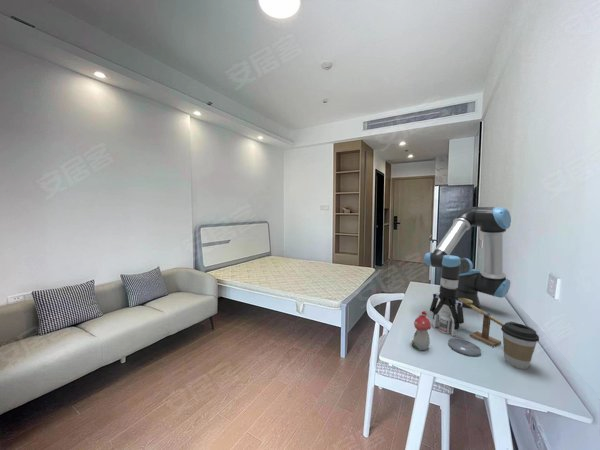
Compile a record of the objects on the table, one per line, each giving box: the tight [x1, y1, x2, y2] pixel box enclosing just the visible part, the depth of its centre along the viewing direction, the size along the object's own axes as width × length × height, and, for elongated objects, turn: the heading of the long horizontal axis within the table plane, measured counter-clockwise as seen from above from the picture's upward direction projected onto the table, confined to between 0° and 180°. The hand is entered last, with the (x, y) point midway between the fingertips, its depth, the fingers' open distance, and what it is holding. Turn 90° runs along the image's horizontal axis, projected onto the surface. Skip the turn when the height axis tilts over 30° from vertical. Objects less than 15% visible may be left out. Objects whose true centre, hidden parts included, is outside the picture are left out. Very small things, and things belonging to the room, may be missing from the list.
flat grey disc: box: [447, 337, 482, 358], centre depth 107 cm, size 12×12×1 cm
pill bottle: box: [438, 311, 453, 334], centre depth 121 cm, size 5×5×10 cm
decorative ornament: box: [411, 310, 432, 351], centre depth 106 cm, size 9×7×15 cm
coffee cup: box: [500, 321, 540, 370], centre depth 97 cm, size 11×11×15 cm
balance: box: [458, 298, 517, 348], centre depth 114 cm, size 7×26×16 cm, turn 27°
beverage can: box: [436, 298, 454, 322], centre depth 133 cm, size 8×8×12 cm
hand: (444, 330), depth 121 cm, fingers open, 8 cm apart
